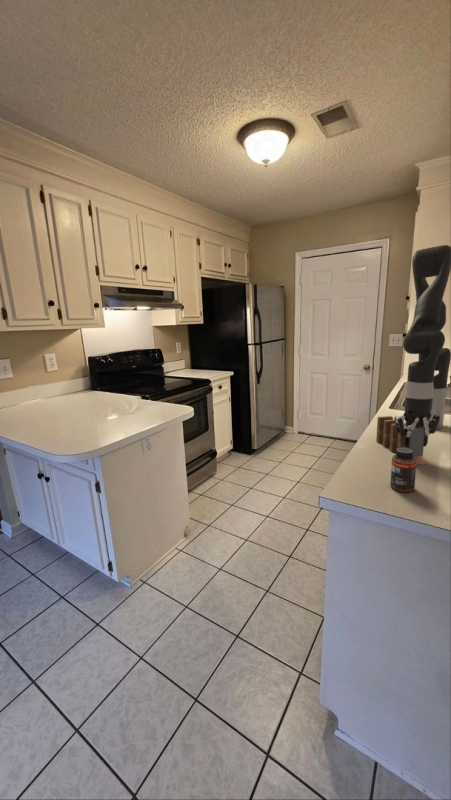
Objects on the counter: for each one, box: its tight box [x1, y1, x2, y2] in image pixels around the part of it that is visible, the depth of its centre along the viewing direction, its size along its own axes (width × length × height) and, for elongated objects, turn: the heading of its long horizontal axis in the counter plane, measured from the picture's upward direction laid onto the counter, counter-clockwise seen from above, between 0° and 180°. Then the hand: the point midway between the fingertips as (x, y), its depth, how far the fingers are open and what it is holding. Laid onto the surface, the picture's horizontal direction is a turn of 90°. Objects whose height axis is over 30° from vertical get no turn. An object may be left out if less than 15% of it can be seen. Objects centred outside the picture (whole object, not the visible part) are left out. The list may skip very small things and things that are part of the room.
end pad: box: [414, 457, 428, 465], centre depth 107 cm, size 5×6×1 cm
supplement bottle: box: [389, 448, 417, 493], centre depth 90 cm, size 6×6×11 cm
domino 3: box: [388, 422, 405, 453], centre depth 115 cm, size 2×5×10 cm, turn 94°
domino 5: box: [407, 427, 425, 458], centre depth 106 cm, size 2×5×10 cm, turn 94°
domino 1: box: [376, 415, 394, 444], centre depth 124 cm, size 2×5×10 cm, turn 94°
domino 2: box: [382, 419, 395, 449], centre depth 119 cm, size 2×5×10 cm, turn 94°
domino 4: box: [397, 434, 406, 448], centre depth 110 cm, size 2×5×10 cm, turn 94°
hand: (414, 446), depth 106 cm, fingers closed on domino 5, 5 cm apart
